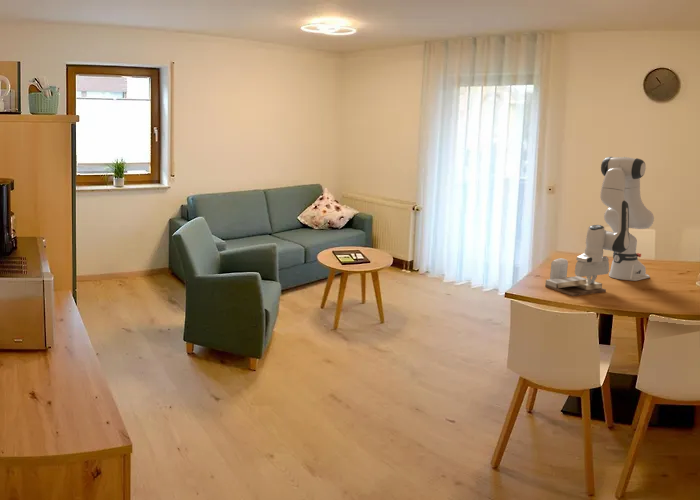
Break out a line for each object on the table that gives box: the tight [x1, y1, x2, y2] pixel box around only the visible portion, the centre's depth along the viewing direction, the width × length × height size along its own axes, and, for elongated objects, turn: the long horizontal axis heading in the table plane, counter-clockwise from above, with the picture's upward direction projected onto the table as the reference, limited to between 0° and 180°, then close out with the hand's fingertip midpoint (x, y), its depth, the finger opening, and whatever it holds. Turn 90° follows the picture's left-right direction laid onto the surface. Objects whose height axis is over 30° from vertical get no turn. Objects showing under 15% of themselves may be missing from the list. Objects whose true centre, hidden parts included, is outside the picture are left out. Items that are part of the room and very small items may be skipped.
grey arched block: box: [549, 257, 569, 279], centre depth 372 cm, size 10×4×12 cm, turn 123°
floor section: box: [544, 275, 607, 297], centre depth 357 cm, size 22×20×4 cm
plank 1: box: [557, 280, 586, 288], centre depth 351 cm, size 11×9×2 cm
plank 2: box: [575, 280, 603, 290], centre depth 356 cm, size 11×9×2 cm
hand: (590, 283), depth 354 cm, fingers closed, pressing on plank 2
